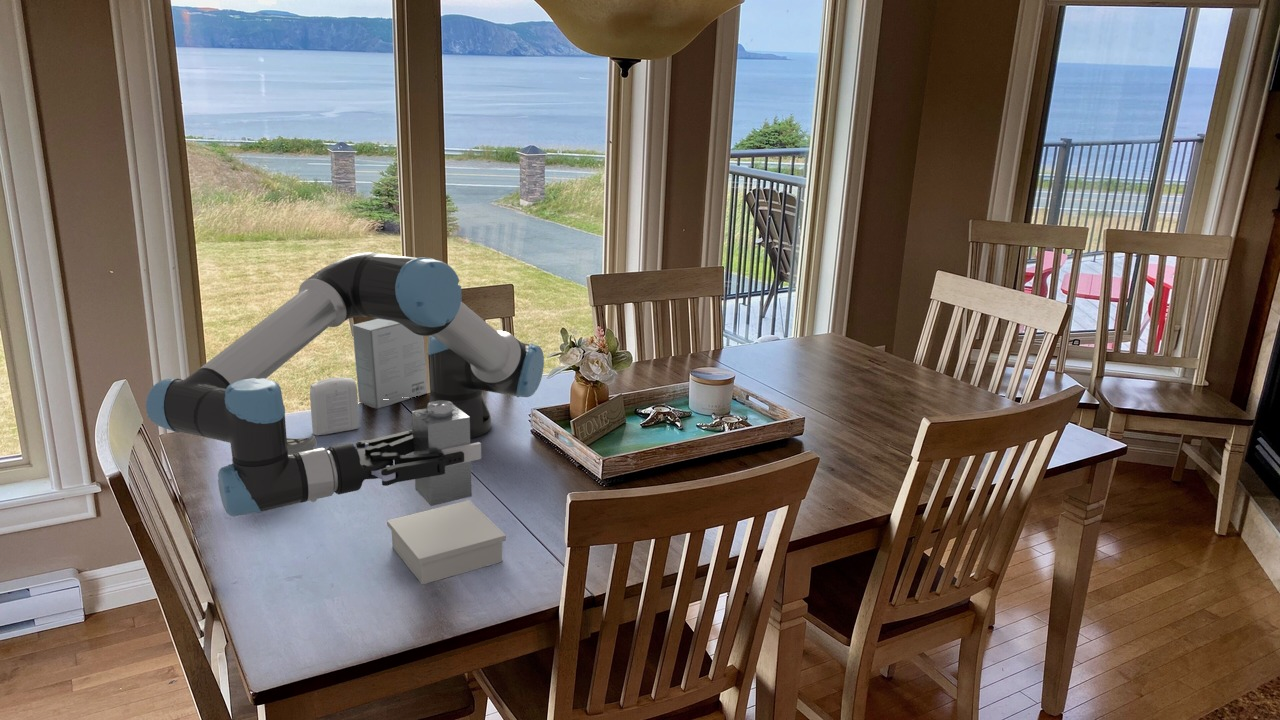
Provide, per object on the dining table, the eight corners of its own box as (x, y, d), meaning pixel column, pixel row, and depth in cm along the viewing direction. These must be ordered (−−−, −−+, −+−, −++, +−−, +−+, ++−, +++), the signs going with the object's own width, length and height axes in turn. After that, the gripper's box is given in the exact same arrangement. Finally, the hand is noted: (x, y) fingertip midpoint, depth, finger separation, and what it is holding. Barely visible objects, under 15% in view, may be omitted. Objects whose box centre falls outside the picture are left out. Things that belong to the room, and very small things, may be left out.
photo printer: (356, 423, 210) (352, 372, 206) (362, 429, 206) (358, 377, 203) (310, 431, 204) (305, 379, 201) (315, 438, 201) (311, 385, 197)
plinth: (469, 525, 165) (469, 500, 163) (506, 561, 153) (505, 535, 152) (388, 546, 157) (387, 520, 155) (420, 586, 145) (419, 559, 144)
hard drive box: (409, 387, 234) (405, 311, 228) (428, 394, 230) (424, 317, 223) (357, 402, 223) (351, 323, 217) (375, 410, 218) (370, 329, 212)
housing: (455, 480, 156) (452, 394, 151) (471, 496, 151) (469, 407, 146) (415, 489, 152) (411, 401, 148) (431, 506, 147) (427, 415, 142)
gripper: (314, 470, 148) (448, 443, 161) (352, 519, 133) (496, 485, 145) (311, 427, 146) (446, 402, 158) (348, 472, 130) (495, 441, 143)
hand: (470, 442), depth 152 cm, fingers closed on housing, 7 cm apart
